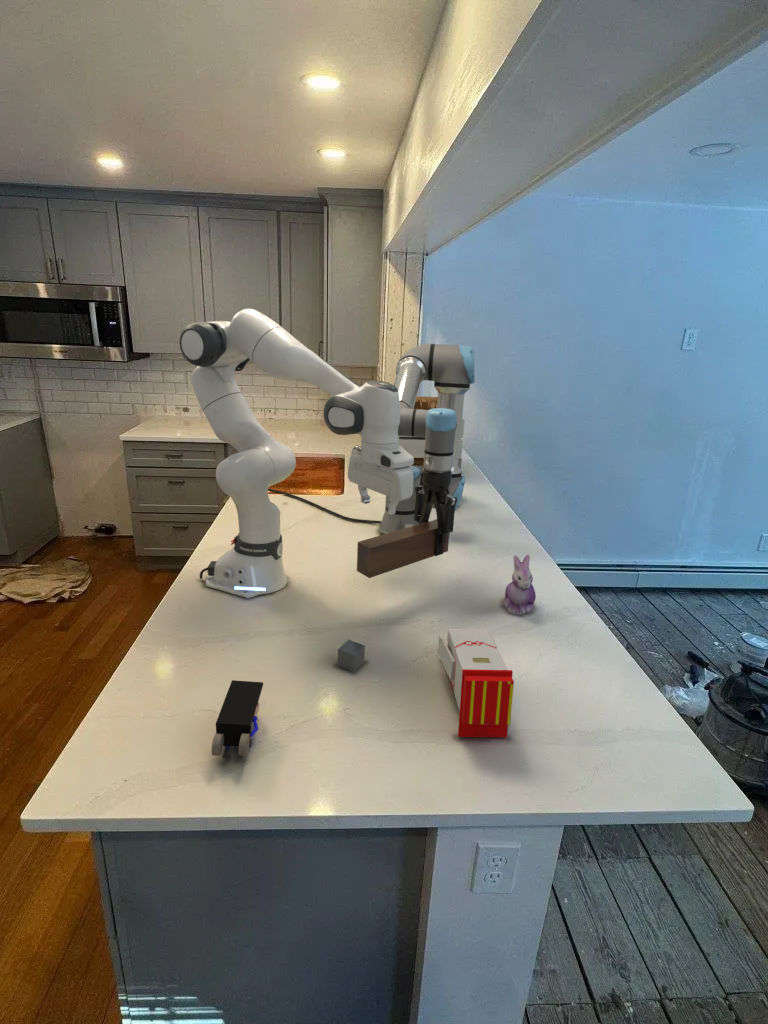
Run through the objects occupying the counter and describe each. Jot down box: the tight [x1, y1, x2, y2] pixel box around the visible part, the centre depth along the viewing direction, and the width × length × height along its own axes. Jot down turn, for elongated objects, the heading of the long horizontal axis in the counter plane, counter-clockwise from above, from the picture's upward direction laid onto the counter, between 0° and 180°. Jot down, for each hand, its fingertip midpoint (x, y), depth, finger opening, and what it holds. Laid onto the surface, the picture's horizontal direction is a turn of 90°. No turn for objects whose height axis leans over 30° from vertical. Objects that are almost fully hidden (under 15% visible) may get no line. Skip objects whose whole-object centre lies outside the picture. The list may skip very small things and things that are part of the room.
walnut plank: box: [356, 518, 450, 579], centre depth 148 cm, size 5×28×8 cm, turn 131°
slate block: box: [336, 639, 366, 673], centre depth 125 cm, size 4×4×4 cm
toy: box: [437, 628, 515, 738], centre depth 117 cm, size 12×13×30 cm
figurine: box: [503, 553, 537, 615], centre depth 151 cm, size 9×10×15 cm
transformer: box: [399, 395, 465, 470], centre depth 268 cm, size 34×33×41 cm
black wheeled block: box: [211, 679, 264, 761], centre depth 102 cm, size 7×8×15 cm
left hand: (377, 508), depth 137 cm, fingers open, 8 cm apart
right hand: (431, 550), depth 155 cm, fingers closed on walnut plank, 5 cm apart
